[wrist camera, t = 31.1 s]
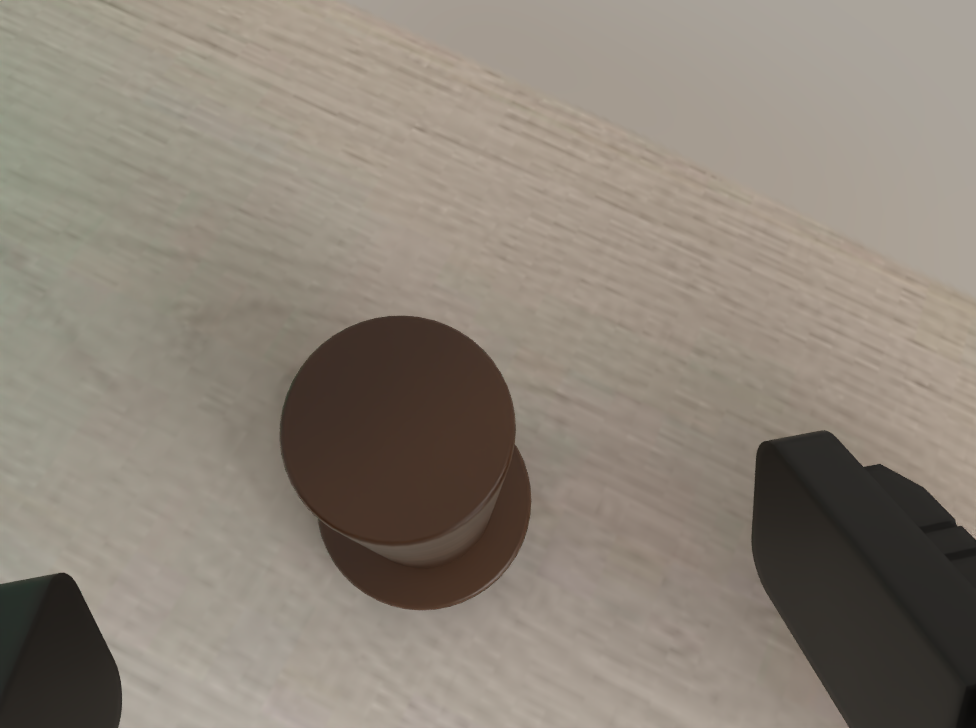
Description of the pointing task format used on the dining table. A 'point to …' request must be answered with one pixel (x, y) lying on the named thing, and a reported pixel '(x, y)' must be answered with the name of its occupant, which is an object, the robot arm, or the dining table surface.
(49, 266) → the dining table surface
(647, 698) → the dining table surface
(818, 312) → the dining table surface
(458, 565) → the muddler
